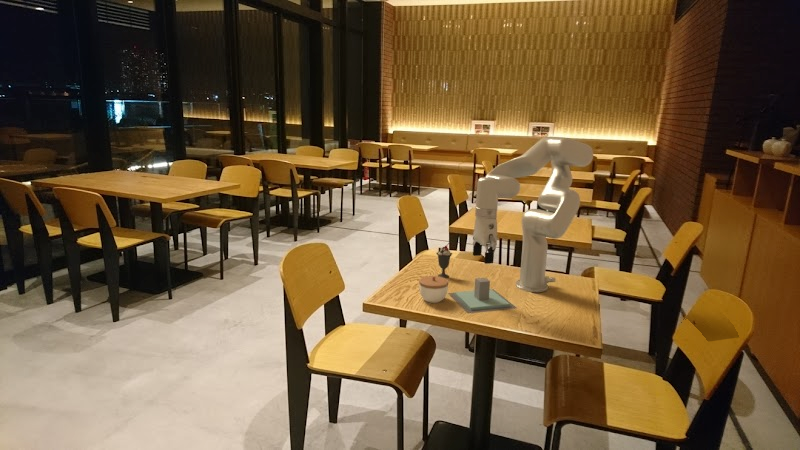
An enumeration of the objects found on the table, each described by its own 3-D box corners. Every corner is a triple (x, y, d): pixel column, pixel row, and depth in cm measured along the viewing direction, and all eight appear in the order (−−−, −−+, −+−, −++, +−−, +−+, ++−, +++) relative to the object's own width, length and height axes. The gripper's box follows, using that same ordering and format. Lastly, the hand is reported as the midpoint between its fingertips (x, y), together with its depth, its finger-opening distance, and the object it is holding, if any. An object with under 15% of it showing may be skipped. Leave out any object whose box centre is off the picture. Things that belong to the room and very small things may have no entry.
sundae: (452, 279, 198) (453, 244, 194) (436, 278, 198) (437, 244, 194) (450, 274, 204) (452, 240, 201) (435, 273, 204) (436, 240, 201)
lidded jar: (446, 307, 169) (447, 282, 167) (416, 304, 171) (416, 280, 169) (449, 296, 179) (450, 272, 177) (421, 294, 181) (421, 270, 179)
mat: (493, 290, 186) (493, 289, 186) (517, 309, 168) (517, 308, 168) (447, 294, 181) (447, 293, 181) (467, 314, 163) (467, 313, 163)
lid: (490, 291, 184) (492, 271, 182) (509, 306, 169) (511, 285, 168) (454, 294, 180) (455, 274, 178) (470, 310, 166) (471, 288, 164)
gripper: (507, 217, 160) (503, 266, 163) (485, 207, 176) (482, 252, 180) (487, 217, 158) (483, 267, 161) (466, 208, 174) (463, 253, 178)
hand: (482, 259), depth 171 cm, fingers open, 9 cm apart
